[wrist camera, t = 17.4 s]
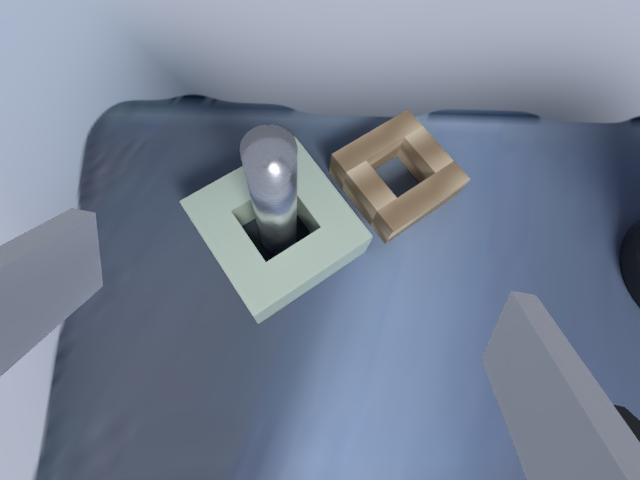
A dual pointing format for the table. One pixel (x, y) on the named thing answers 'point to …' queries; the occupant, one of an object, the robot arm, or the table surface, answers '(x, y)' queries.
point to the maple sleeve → (416, 155)
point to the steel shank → (272, 183)
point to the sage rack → (293, 263)
